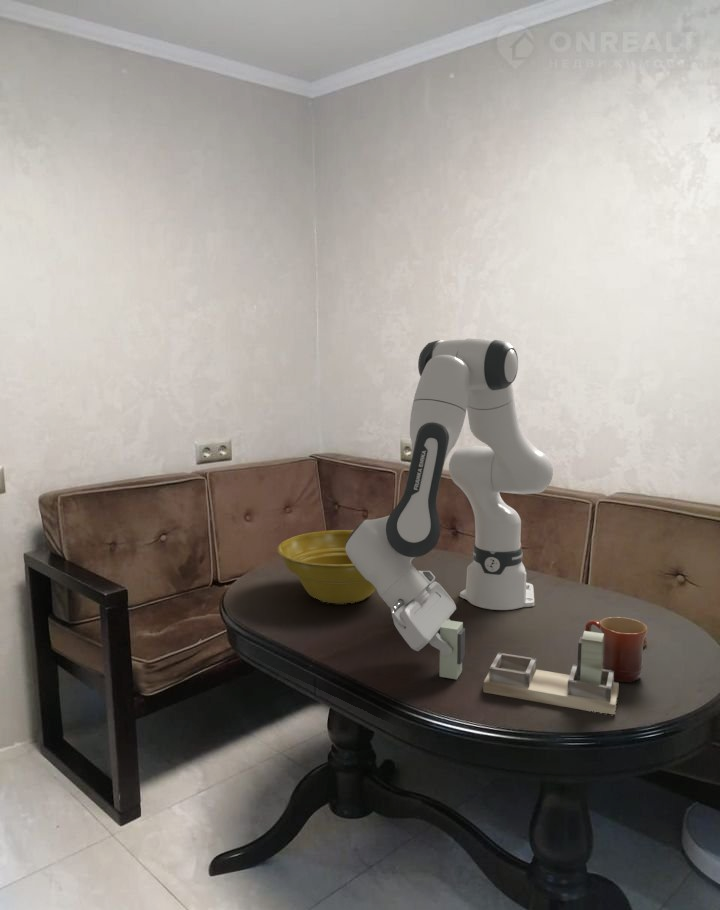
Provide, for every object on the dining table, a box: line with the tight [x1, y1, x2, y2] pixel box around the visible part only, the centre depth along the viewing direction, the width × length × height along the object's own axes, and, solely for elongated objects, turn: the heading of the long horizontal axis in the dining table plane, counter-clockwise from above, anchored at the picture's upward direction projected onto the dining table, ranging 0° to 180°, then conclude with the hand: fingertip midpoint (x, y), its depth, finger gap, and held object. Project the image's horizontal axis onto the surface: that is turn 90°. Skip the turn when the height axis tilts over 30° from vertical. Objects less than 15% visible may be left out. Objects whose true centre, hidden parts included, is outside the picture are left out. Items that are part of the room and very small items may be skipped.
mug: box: [584, 616, 649, 683], centre depth 140 cm, size 12×9×10 cm
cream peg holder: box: [482, 630, 620, 715], centre depth 132 cm, size 9×23×12 cm, turn 67°
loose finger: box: [439, 619, 466, 680], centre depth 140 cm, size 4×4×10 cm
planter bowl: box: [276, 529, 376, 605], centre depth 186 cm, size 32×32×13 cm
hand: (454, 647), depth 140 cm, fingers closed on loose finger, 4 cm apart
